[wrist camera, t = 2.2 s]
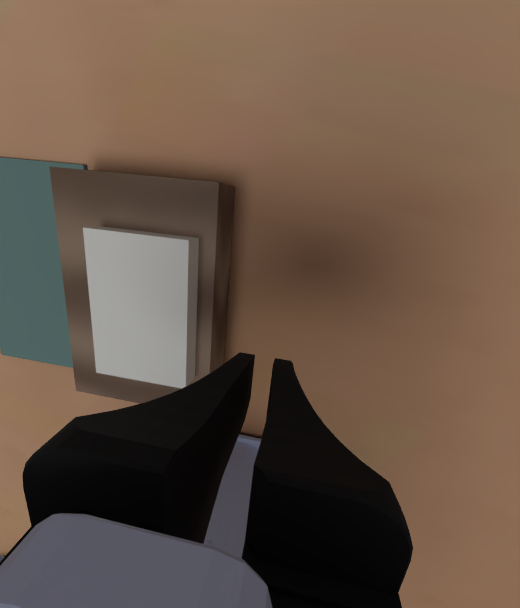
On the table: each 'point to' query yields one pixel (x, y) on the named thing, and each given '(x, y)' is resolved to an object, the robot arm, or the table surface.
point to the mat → (31, 265)
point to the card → (143, 304)
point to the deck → (150, 218)
